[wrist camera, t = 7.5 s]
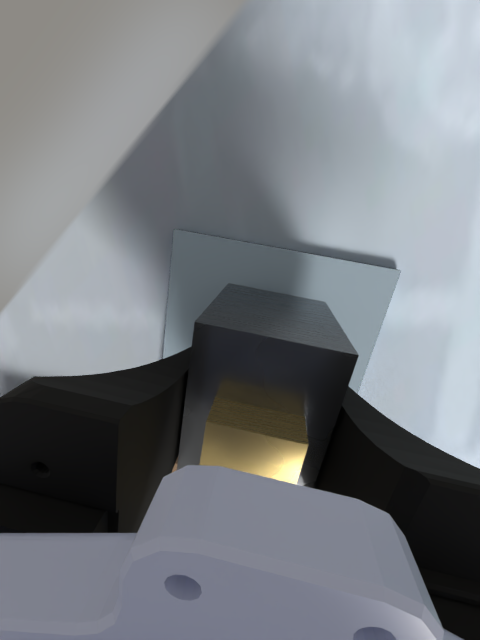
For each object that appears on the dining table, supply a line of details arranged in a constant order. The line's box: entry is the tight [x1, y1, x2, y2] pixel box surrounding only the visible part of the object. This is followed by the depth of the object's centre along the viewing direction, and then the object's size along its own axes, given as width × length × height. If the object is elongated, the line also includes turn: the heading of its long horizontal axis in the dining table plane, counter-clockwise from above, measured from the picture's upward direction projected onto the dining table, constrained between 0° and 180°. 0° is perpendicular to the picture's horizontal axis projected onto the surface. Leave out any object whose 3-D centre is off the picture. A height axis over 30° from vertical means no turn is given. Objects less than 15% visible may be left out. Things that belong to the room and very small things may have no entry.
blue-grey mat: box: [163, 229, 401, 394], centre depth 14 cm, size 10×10×1 cm
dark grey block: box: [177, 283, 359, 488], centre depth 10 cm, size 4×7×6 cm, turn 170°
